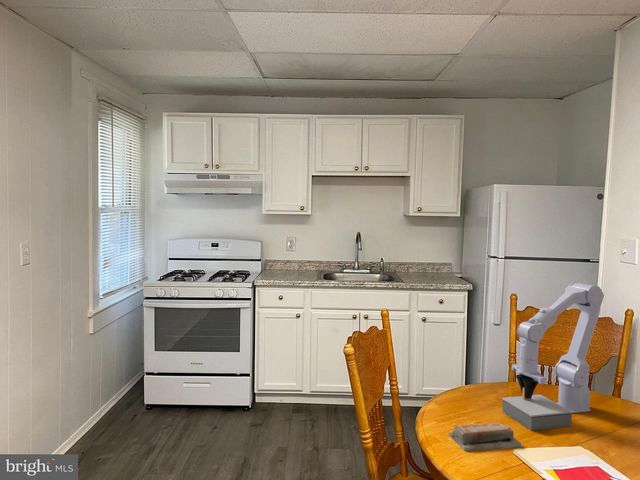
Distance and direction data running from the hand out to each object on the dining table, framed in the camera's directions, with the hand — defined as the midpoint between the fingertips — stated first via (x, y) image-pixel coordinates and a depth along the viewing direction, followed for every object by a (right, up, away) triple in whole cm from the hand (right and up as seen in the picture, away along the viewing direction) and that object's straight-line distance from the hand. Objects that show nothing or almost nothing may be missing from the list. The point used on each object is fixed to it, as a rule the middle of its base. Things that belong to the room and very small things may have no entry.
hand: (526, 397), depth 160 cm
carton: (+1, -6, -4) cm, 7 cm away
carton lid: (+1, -1, -4) cm, 5 cm away
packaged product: (-22, -7, -20) cm, 30 cm away
